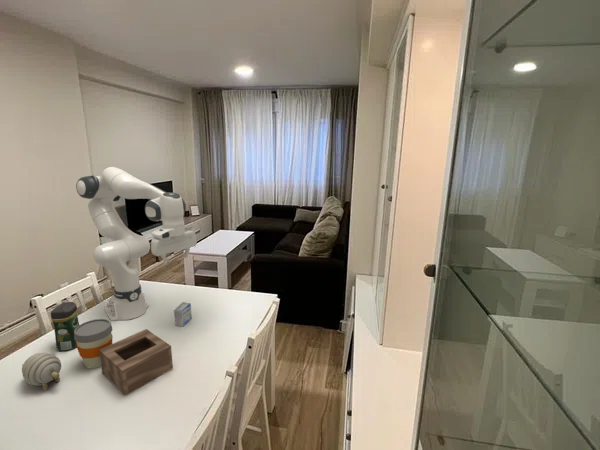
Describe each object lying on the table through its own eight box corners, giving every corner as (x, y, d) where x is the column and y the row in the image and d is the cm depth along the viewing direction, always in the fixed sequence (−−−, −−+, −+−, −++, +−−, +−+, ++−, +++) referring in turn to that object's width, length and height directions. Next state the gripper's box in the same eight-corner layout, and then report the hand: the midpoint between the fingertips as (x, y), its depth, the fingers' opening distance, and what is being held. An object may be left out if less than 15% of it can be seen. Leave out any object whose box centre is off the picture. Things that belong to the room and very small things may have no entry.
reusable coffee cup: (76, 375, 120) (70, 339, 117) (80, 355, 131) (75, 322, 127) (115, 365, 126) (110, 331, 122) (116, 347, 137) (112, 315, 133)
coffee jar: (65, 339, 142) (58, 300, 137) (85, 337, 143) (79, 299, 139) (53, 352, 132) (45, 311, 128) (74, 351, 134) (67, 310, 129)
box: (102, 373, 122) (99, 349, 119) (148, 350, 136) (146, 328, 133) (125, 395, 111) (122, 370, 109) (172, 368, 125) (171, 345, 123)
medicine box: (183, 327, 153) (182, 310, 151) (174, 325, 154) (173, 309, 152) (191, 318, 161) (191, 302, 159) (183, 317, 162) (182, 301, 159)
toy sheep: (44, 368, 123) (39, 342, 121) (77, 378, 118) (72, 352, 116) (13, 387, 114) (6, 359, 111) (47, 399, 109) (42, 371, 106)
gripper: (190, 224, 150) (192, 252, 154) (147, 233, 134) (150, 264, 138) (198, 227, 147) (200, 255, 150) (156, 236, 131) (158, 268, 134)
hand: (176, 260), depth 144 cm, fingers open, 8 cm apart
